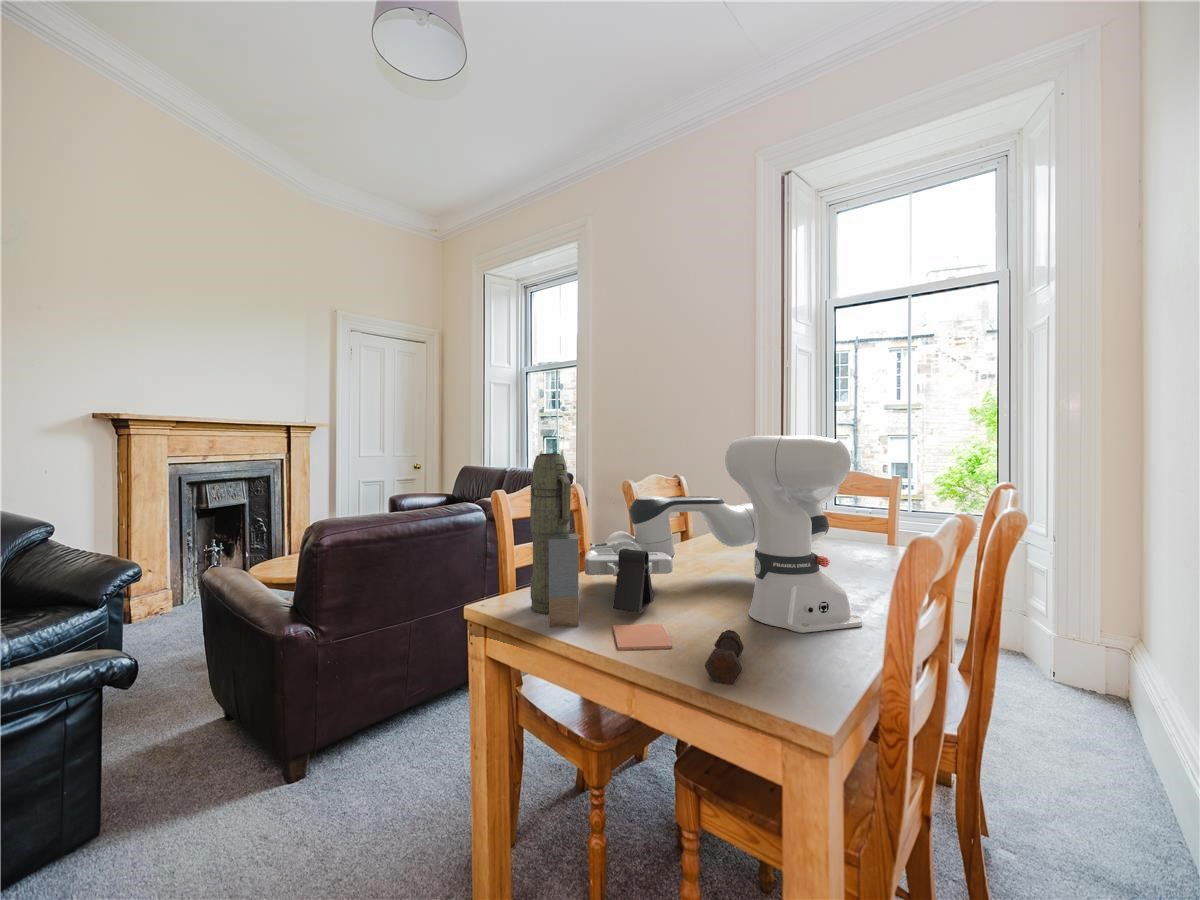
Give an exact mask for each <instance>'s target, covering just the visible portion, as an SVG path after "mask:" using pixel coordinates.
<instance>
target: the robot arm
mask: <svg viewBox="0 0 1200 900" xmlns="http://www.w3.org/2000/svg"><path fill="white" fill-rule="evenodd" d="M730 443H731V444H729V446H728V448H727V450H726V452H725V455H724V464H725V468H726V471H727V474H729V477H731V479H732V480H734V481H735V482H736V483H737V484H738V485H739V486H740V487H741V488H742V489H743V490H744V492H745V493H746V495H747V497H748V499H749V500H750V502H747V503H741V504H736V505H735V504H734V505H733V504H727V503H725V501H724V500H723V498H720V497H716V496H715V497H714V496H699V495H698V496H695V495H694V496H693V495H692V496H659V495H650V494H648V495H643V496H640V497H636V498H635V499H634V501H633V502H632V503H631V505H630V507H629V509H628V511H629V512H628V513H629V516H630V517H629V518H630V521H631V524H632V528H633V533H634V534H633V535H634V536H633V535H632V534H630V533H628V532H626V531H623V530H619V531H614V532H613V533H611V534H609V536H608V537H607V538H606V540H605V543H599V544H598V543H597V544H592V545H590V546H589V550H588V551H587V552H586V554H585V557H584V573H585V575H588V576H605V575H607V576H608V575H609V576H610V575H611V576H613V577H617V573H618V571H619V569H618V565H619V559H618V556H619V551H620V550H622V549H627V550H637V551H646V552H648V554H649V576H650V577H651V575H653V574H654V575H656V574H658V575H661V574H664V575H665V574H671V573H672V572H673V568H674V567H673V558H674V556H675V555H676V552H675V544H674V539H673V534H672V533H673V532H672V528H671V527H672V526H671V520H670V515H671V514H672V513H691V512H693V513H698V514H699V515H700V517H702V519H703V520H704V522H705V524H706V525H707V527H708V529H709V531H710V533H711V534H712V535H713V537H714V538H715V539H716V540H717V541H718V542H720V543H721V544H722V545H724V546H725V547H731V548H736V547H743V546H748V545H753V544H755V543H756V548H755V549H754V559H753V570H754V575H755V580H754V581H755V582H754V589H753V594H752V598H751V599H752V600H751V604H750V607H749V610H748V616H749V617H751V618H752V619H753V620H754V621H758V622H760V623H761V624H766V625H769V626H774V627H778V628H783V629H787V630H790V631H792V632H795V633H810V632H821V631H831V630H841V629H849V628H850V629H851V628H858V627H862V625H863V619H862V618H861V616H860V615H859V614H858V613H857V612H855V611H854V610H852V609H851V605H850V602H849V597H848V595H847V592H846V591H845V589H843V588H842V587H841V585H839V584H838V583H836V582H835V581H834V580H833V579H831V578H830V577H829V576H828V575H826V574H825V573H824V572H823V571H821V570H820V569H821V568H820V566H821V567H823V568H827V567H828V566H829V565H830V564H831V563H830V560H829V559H828V557H825V556H823V555H820V556H819V555H818V554H815V553H814V552H813V551H812V543H815V542H817V541H819V540H821V538H823V537H824V536H825V535H826V534H827V533H828V532H829V530H830V525H829V521H828V517H827V515H825V513H824V510H823V506H822V505H821V504H826V503H829V502H831V501H833V500H834V499H835V498H836V497H837V495H838V493H839V491H840V485H842V484H843V482H845V480H846V479H847V478H848V475H849V473H850V471H851V467H852V458H851V454H850V452H849V449H848V448H847V446H846V445H845V443H843V442H842V441H841V440H840V439H837V438H832V437H825V436H820V435H751V436H746V437H741V438H737V439H734V440H733V441H732V442H730ZM645 575H646V574H645Z"/></svg>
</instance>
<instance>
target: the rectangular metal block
mask: <svg viewBox="0 0 1200 900" xmlns="http://www.w3.org/2000/svg"><path fill="white" fill-rule="evenodd" d="M580 550H581V549H580V548H579V533H568V534H550V536H549V615H548V627H549V628H570V627H571V628H572V627H573V628H575V627H577V628H578V627H579V619H580V618H579V615H580V614H579V611H580V610H579V607H580V606H579V602H580V601H579V600H580V599H579V595H580V594H579V573H580V572H581V559H580V558H581V551H580Z"/></svg>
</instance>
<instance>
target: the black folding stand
mask: <svg viewBox="0 0 1200 900" xmlns="http://www.w3.org/2000/svg"><path fill="white" fill-rule="evenodd" d="M618 559H619V565H618V569H619V571H618V573H617V576H616V582H615V588H614V589H615V590H614V595H613V603H612V609H613V610H618V611H624V612H629V613H636V614H640V613H641V612H643V610H645V609H647V607H649V606H650V604H652V603H653V602H654V600H655V599H654V594H653V586H652V585H653V584H652V579H651V575H650V576H649V554H648V552H646V551H637V550H627V549H622V550H620V551H619V556H618ZM645 574H646V575H645Z"/></svg>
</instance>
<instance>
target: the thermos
mask: <svg viewBox="0 0 1200 900" xmlns="http://www.w3.org/2000/svg"><path fill="white" fill-rule="evenodd" d="M571 487H572V482H571V480H570V478H569V476H568V467H567V463H566V459H565V456H564V455H563V454H561V453H539V454H538V455H536V456H535V459H534V462H533V466H532V475H531V477H530V509H529V510H530V514H529V515H530V528H529V529H530V532H531V535H532V575H531V578H530V587H529V588H530V600H531V607H530V608H531V609H532V610H531V612H533V613H535V614H537V613H538V615H542V614H543V616H549V536H550V534H570V529H571V526H570V525H571V524H570V522H571V495H572V494H571V493H572V492H571V491H572V489H571Z"/></svg>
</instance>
